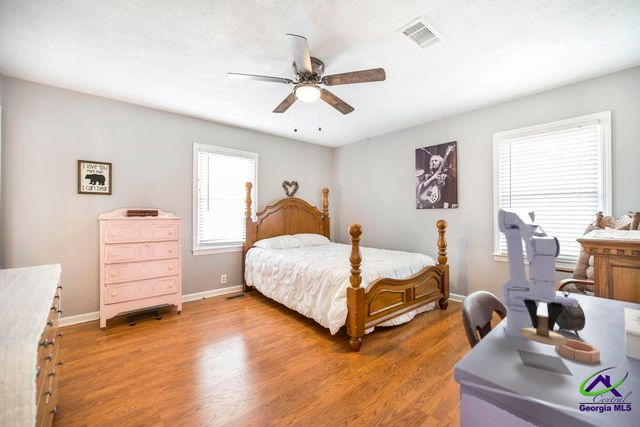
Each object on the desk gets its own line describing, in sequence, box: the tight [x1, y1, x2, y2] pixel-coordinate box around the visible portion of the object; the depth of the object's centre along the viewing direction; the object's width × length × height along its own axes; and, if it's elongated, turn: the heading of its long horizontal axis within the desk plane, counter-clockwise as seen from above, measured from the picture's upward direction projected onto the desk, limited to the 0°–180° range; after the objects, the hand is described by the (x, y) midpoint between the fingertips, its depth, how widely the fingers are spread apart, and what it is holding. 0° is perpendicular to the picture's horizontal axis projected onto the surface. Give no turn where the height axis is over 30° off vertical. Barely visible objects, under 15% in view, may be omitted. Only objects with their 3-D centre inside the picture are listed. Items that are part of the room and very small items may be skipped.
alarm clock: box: [555, 285, 586, 338], centre depth 95 cm, size 11×5×16 cm, turn 168°
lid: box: [520, 314, 568, 347], centre depth 74 cm, size 10×10×6 cm
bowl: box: [554, 338, 601, 363], centre depth 79 cm, size 9×9×3 cm
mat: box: [516, 348, 574, 377], centre depth 74 cm, size 10×10×1 cm
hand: (542, 328), depth 75 cm, fingers closed on lid, 3 cm apart
